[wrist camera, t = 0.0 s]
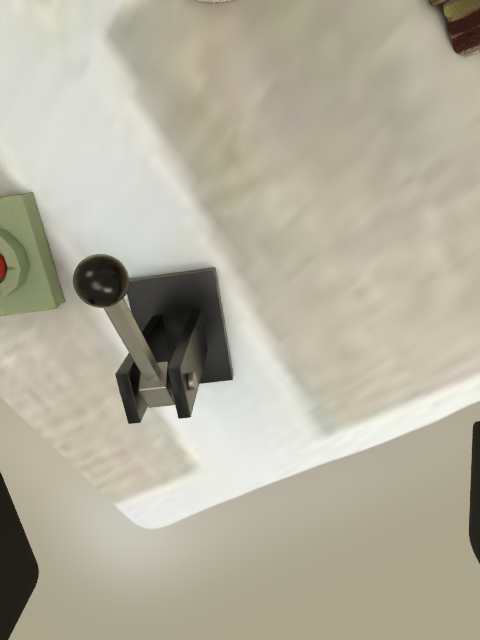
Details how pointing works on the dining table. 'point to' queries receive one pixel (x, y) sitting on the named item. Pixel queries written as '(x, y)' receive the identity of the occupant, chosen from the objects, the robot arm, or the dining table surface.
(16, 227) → the control block
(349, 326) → the dining table surface
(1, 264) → the button
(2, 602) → the robot arm
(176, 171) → the dining table surface
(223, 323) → the bracket
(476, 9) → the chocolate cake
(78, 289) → the lever
